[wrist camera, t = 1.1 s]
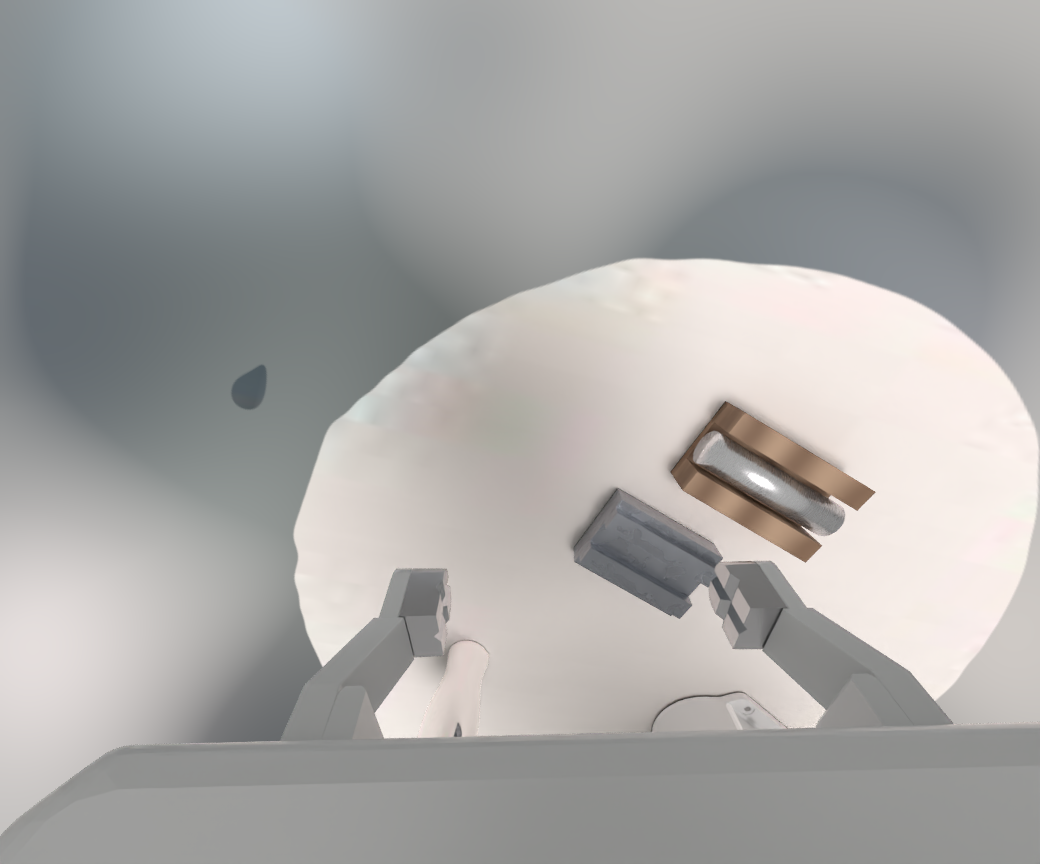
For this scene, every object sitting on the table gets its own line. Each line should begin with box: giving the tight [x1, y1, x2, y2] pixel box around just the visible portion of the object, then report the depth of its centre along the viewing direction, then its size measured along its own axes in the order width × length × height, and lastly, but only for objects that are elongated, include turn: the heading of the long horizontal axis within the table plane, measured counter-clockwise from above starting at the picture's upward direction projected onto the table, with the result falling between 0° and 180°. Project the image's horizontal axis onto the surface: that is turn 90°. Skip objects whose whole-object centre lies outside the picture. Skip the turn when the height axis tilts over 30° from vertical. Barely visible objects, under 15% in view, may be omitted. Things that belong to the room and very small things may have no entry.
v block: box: [574, 488, 723, 619], centre depth 48 cm, size 14×10×4 cm
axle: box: [693, 431, 845, 536], centre depth 43 cm, size 16×4×4 cm, turn 60°
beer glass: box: [417, 640, 489, 738], centre depth 52 cm, size 7×7×15 cm
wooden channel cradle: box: [671, 402, 875, 563], centre depth 44 cm, size 16×10×5 cm, turn 60°
